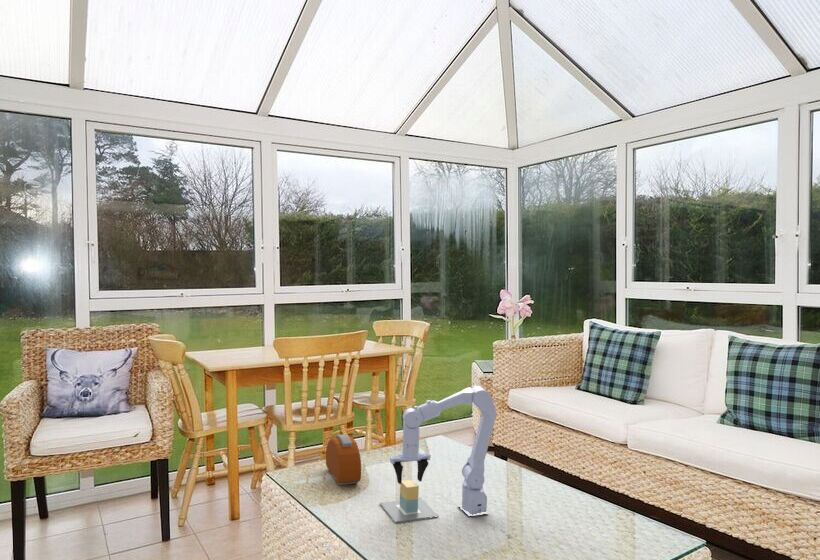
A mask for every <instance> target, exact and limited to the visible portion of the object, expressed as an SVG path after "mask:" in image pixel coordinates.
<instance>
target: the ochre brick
mask: <svg viewBox="0 0 820 560" xmlns="http://www.w3.org/2000/svg"><path fill="white" fill-rule="evenodd" d="M399 485H400V488H399V495H400V494H401V495H402V496H403V497H404V498H405V499H406V500H414V499H418V498H419V490H420V489H419V487H420V486H419V485H418V484H417V483H416V482H415V481H414V480H413V479H407V480H406V479H405V480H402V482H401V484H399Z"/></svg>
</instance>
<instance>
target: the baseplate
mask: <svg viewBox="0 0 820 560" xmlns="http://www.w3.org/2000/svg"><path fill="white" fill-rule="evenodd" d="M379 505H380V506H381V508H382V509H383V510H384V512H385V513H386V515H388V517H389V518H390V519H391V520H392V522H393V523H394V524H401V523H408V522H414V521H415V522H416V521H421V519H423V520H426V519H425V518H430V517H435V516H438V517H439V515H438V514H437V513H436V511H435V510H434V509H432V507H431V506H430V505H429V504H428V503H427V502H426V501H425V500H424V499H423V498H422V497H418V512H412V513H405V511H404V510H403V509H402V508H401V507H400V499H399V500H391V501H390V500H389V501H383V502H379Z"/></svg>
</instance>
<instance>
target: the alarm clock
mask: <svg viewBox="0 0 820 560" xmlns="http://www.w3.org/2000/svg"><path fill="white" fill-rule="evenodd" d="M325 466H326V467H327V469H328V470H329V471H328V472H330V474H331V475H332V476H333V478H334V479H335V481H336V482H337V485H338V486H342V484H343V485H352V484H358V482H360V481H361V479H362V459H361V454H360V450H359V446H358V443H357V442H356V440H355V438H353V437H352V436H348V434H336V435H335V437H332V438H330V439H329V440H328V442H327V445H326V450H325Z"/></svg>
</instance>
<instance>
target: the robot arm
mask: <svg viewBox="0 0 820 560" xmlns="http://www.w3.org/2000/svg"><path fill="white" fill-rule="evenodd" d="M460 404H464V405H469V406H473V404H474V406H475V407H476V408H477V409H478V411H479V412H480V419H479V423H478V426H477V431H476V435H475V437H474V442H473V445H472V448H471V454H470V455H469V457H468V458H467V461H466V463H465V464H464V465H463V467H462V469H461V474H462V476H463V478H464V480H463V482H462V490H461V492H462V494H461V505H462V508H463V509H464V510H466V511H468V512H469V513H470V514H472V515H473V514H477V513H481V512H486V511H487V510H488V508H487V507H488V496H487V494H486V493H485V490H484V483H485V475H484V474H485V470H486V469H485V459H486V457H487V452H488V449H489V444H490V441H491V437H492V433H493V429H494V426H495V421H496V419H497V414H498V413H497V410H496V407H495V403H494V398H493V397H492V396H491V395H490V393H489V392H488V391H487V390H486V389H484V387H482V386H481V385H479V384H475V385H472V386H470V387H466V388H464V389H462V390H461V391H458V392H456V393H453V394H451V395H450V396H447V397H445V398H443V399H441V400H439V401H437V400H434V399H433V400H430V399H427V400H426V402H425V403H423V404H420V405H418V406H417V405H414V407H413V408H411V407H410V408H407V409H405V411H404V412H403V415H402V420H403V421H404V423H403V431H402V434H403V435H402V454H398V455H393V456H390V457H389V462H390V464H392V467H393V469H394V472H395V474H396V481H397V483H398V484H399V485H400V484H401V482H402V481H403V480H402V477H403V471H404V470H403V468H404V465H402V463H407V462H408V463H409V462H416V463H417V481H419V482H422V480H423V477H424V473H425V471H426V469H427V468H428V466H429V461H430V460H431V454H430V453H428V452H426V453H425V452H424V453H419V451H420V425H421V424H422V423H424V422H426V421H429V420H432V419H435V418H437V417H439V416H440V415H441V413H442V411H444V410H448V409H450V408H453V407H456V406H458V405H460ZM487 512H488V511H487Z"/></svg>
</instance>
